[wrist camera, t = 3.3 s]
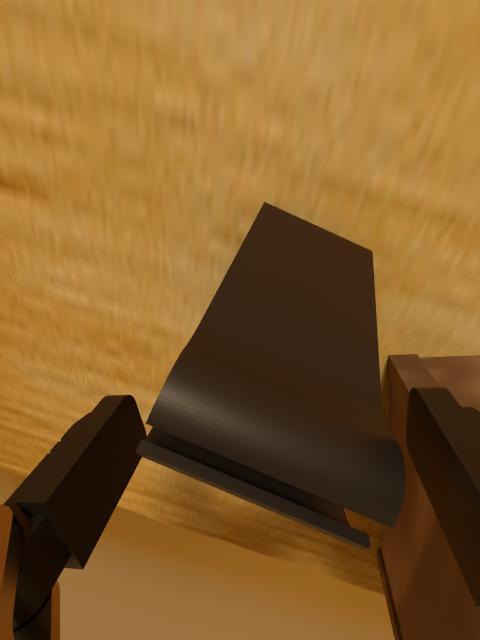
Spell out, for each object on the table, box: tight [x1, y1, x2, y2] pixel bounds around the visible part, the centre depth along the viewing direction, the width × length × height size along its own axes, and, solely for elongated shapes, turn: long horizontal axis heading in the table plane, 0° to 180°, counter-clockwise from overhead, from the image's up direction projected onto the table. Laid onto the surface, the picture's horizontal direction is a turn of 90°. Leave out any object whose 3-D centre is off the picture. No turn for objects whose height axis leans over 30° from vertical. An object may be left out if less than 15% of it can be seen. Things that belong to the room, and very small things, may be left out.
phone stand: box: [136, 202, 406, 549], centre depth 12 cm, size 9×6×12 cm, turn 157°
